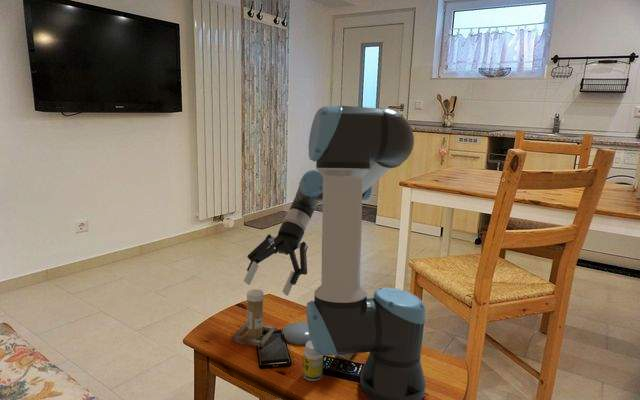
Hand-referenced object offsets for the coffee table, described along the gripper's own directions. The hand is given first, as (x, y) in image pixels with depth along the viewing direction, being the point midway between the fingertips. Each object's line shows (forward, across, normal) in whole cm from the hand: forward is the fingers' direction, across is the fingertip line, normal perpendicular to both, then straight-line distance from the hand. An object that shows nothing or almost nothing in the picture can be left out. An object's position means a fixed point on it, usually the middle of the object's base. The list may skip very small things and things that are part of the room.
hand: (265, 288), depth 121 cm
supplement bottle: (+18, -23, 0) cm, 29 cm away
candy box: (+8, -27, -10) cm, 30 cm away
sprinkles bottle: (+13, -1, -5) cm, 14 cm away
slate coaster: (+7, -12, -10) cm, 17 cm away
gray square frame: (+13, -1, -4) cm, 14 cm away
